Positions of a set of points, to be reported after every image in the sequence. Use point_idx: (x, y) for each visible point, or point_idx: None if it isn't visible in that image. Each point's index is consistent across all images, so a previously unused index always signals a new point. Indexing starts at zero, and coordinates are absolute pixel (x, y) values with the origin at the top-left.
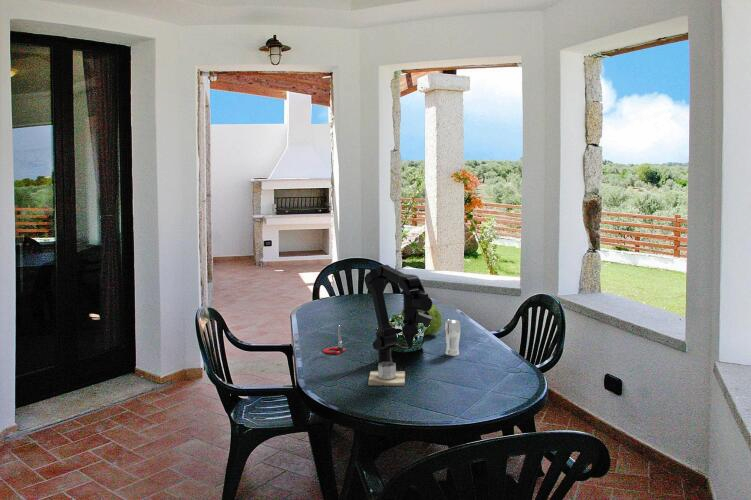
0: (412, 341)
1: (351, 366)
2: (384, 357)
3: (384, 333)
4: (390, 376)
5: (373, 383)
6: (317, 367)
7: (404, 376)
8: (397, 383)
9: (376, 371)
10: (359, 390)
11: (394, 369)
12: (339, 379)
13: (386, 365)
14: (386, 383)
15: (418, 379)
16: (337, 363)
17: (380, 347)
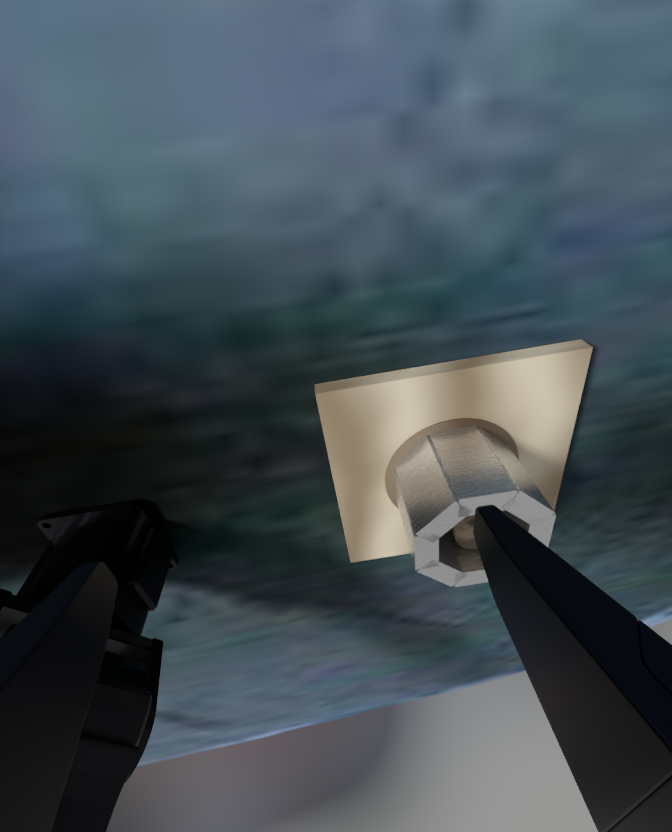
0: (614, 609)
1: (259, 630)
2: (154, 571)
3: (95, 828)
4: (517, 460)
5: (552, 508)
6: (308, 697)
7: (442, 374)
8: (580, 391)
9: (353, 539)
10: (607, 533)
11: (511, 472)
12: (448, 620)
13: (469, 537)
14: (565, 451)
15: (443, 253)
16: (235, 671)
17: (158, 666)
